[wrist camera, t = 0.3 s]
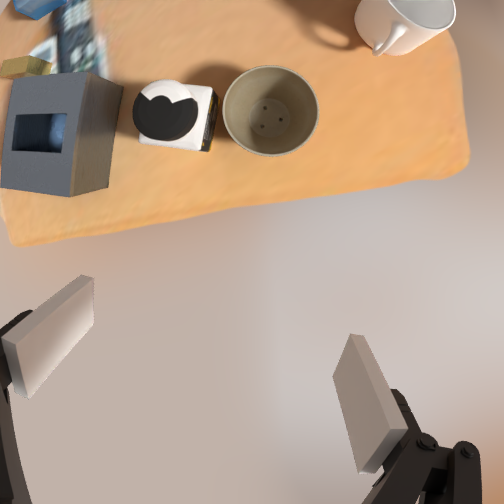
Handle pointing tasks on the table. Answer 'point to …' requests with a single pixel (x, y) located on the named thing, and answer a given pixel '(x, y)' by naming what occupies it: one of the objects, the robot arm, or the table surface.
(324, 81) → the table surface
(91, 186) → the coin box
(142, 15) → the table surface
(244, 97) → the flower pot
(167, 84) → the medicine bottle
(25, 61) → the block
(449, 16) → the mug
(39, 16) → the perfume bottle
